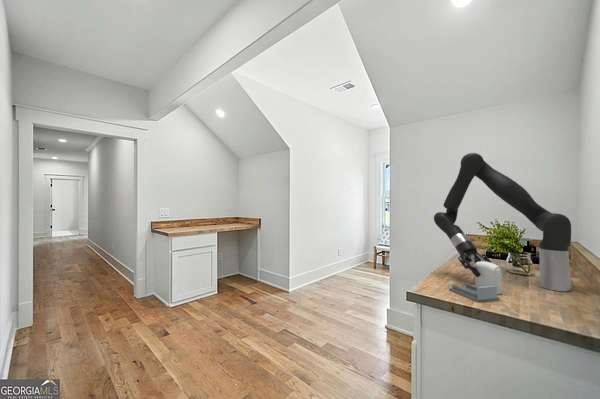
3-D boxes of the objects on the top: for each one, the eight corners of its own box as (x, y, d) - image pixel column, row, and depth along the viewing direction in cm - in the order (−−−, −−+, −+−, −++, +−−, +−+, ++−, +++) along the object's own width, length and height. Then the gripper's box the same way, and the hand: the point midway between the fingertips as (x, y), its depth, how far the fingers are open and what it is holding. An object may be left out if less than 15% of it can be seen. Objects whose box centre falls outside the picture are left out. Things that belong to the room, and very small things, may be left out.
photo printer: (473, 287, 114) (472, 259, 114) (481, 286, 115) (480, 259, 115) (495, 295, 104) (495, 265, 104) (504, 294, 105) (503, 264, 105)
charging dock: (468, 288, 112) (468, 276, 112) (499, 300, 98) (498, 286, 98) (449, 290, 110) (449, 277, 110) (477, 302, 96) (477, 288, 96)
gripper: (454, 240, 118) (477, 272, 106) (480, 239, 121) (505, 270, 109) (446, 249, 123) (467, 281, 111) (470, 248, 126) (493, 278, 114)
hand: (485, 275), depth 110 cm, fingers open, 7 cm apart
